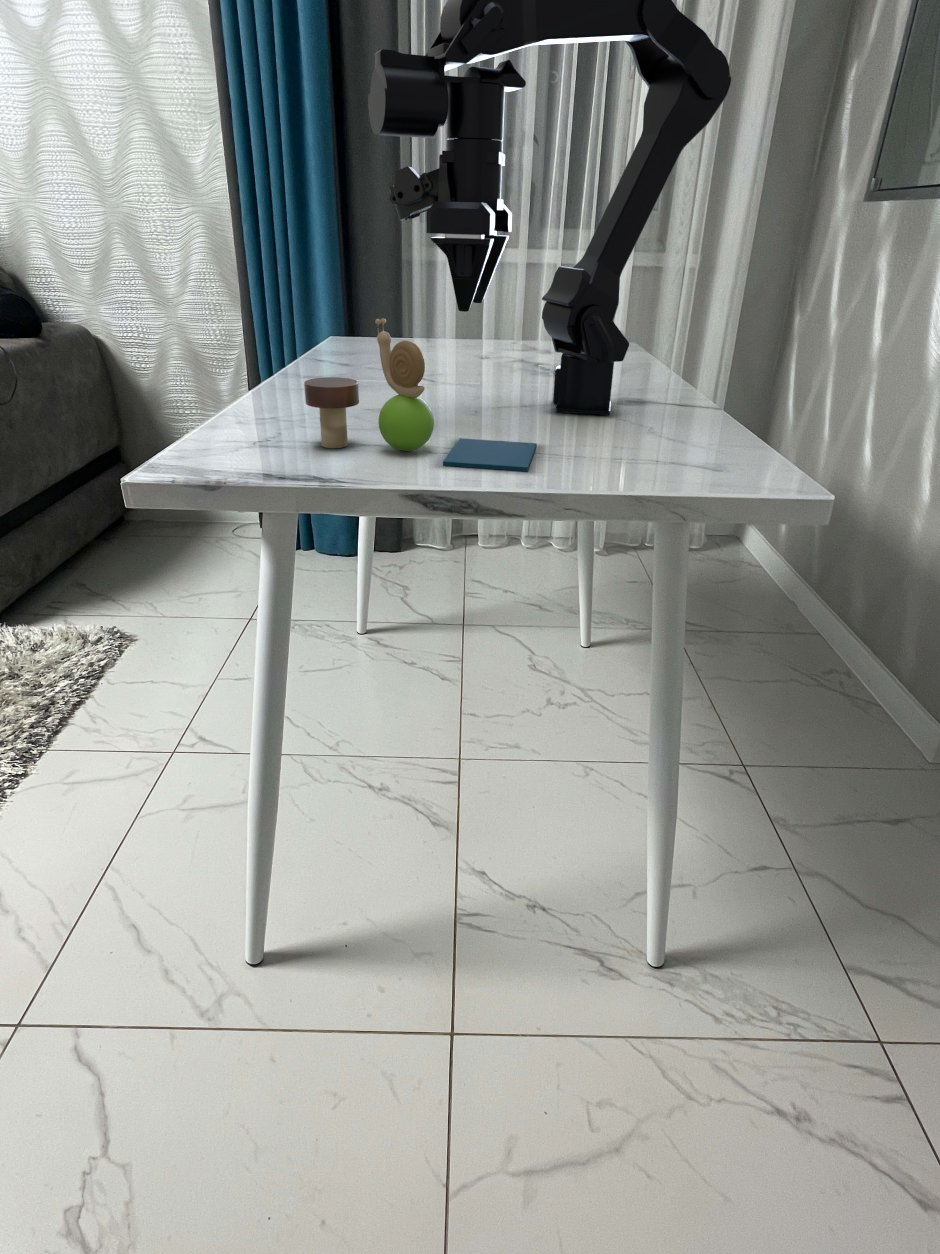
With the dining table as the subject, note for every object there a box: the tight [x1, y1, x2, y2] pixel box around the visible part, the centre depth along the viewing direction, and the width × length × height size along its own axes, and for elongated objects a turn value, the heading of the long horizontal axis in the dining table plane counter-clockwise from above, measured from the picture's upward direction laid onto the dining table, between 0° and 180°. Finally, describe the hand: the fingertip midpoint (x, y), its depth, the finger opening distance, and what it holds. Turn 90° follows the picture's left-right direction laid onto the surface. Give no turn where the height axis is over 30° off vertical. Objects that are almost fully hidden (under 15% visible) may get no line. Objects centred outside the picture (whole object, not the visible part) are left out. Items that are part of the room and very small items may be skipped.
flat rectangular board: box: [442, 437, 538, 472], centre depth 79 cm, size 8×9×1 cm
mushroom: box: [303, 376, 360, 449], centre depth 80 cm, size 5×5×6 cm
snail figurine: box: [374, 317, 435, 452], centre depth 78 cm, size 5×6×12 cm
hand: (470, 306), depth 89 cm, fingers open, 9 cm apart
